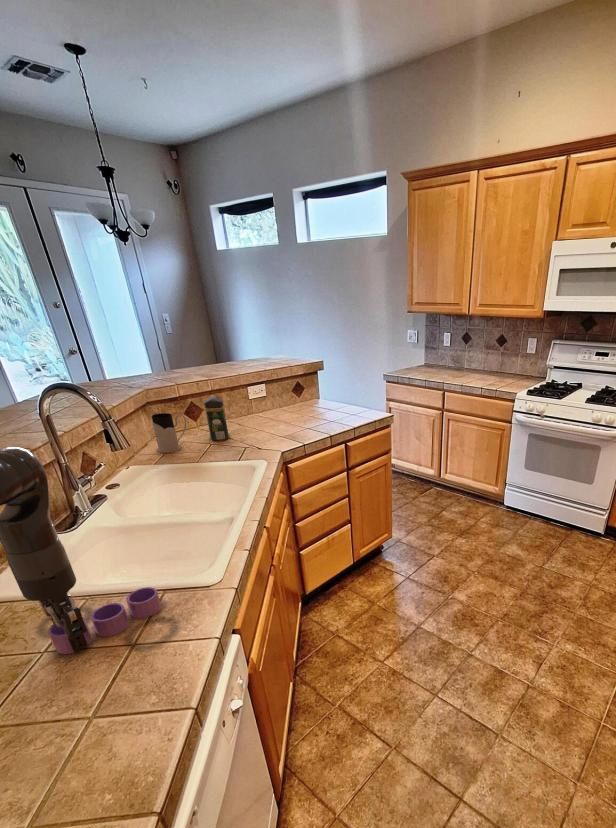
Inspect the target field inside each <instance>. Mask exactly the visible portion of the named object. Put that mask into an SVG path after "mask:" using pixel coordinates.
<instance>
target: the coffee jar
mask: <svg viewBox="0 0 616 828" xmlns="http://www.w3.org/2000/svg"><path fill="white" fill-rule="evenodd" d="M203 405H204V410H205V414H206V415H205V416H206V420H207V425H208V430H209V436H210V440H211V441H217V442H220V441H221V442H222V441H224V440H228V438H229V436H230V435H229V434H230V433H229V429H228V425H227V419H226V418H227V417H226V412H225V411H226V410H225V406H224V400H223V399H222V398H220V397H218V396H212V397H208V398H206V399H205V401H204V402H203Z"/></svg>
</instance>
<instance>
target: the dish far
mask: <svg viewBox="0 0 616 828" xmlns="http://www.w3.org/2000/svg"><path fill="white" fill-rule="evenodd" d="M125 599H126V600H125V601H126V603H127V606H128V609H129V613H130V616H132V617H133V618H134V619H146V618H149V617H152V616H154V615H156V614H157V613H159V611H160V610H161V609H162V603H161V602H162V601H161V599H160V596H159V592H158V589H156V587H151V586H147V587H146V586H145V587H141V588H138V589H135V590H133V591H131V592H130V593H129V594H128V595H127V596H126V598H125Z"/></svg>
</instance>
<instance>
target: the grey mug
mask: <svg viewBox="0 0 616 828" xmlns="http://www.w3.org/2000/svg"><path fill="white" fill-rule="evenodd" d="M150 417H151V421H152V426H153V431H154V435H155V440H156V443H157V447H158V450H157V451H158V452H159V453H174V452H177V451H179V450H180V449H181V446H180V443H179V441H180V440H181V438H182V437H183V435H185V432H186V430H187V419H186V417H185V415H182V414H177V415H176V417H175V419H173V414H172V413H169V412H164V413H155V414H152V415H151V416H150ZM179 417H183V420H184V427H183V431H182V433H181V434H180V436H179V437H178V436H177V430H176V427H177V426H178V418H179ZM174 422H175V423H174Z"/></svg>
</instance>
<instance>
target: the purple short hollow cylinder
mask: <svg viewBox="0 0 616 828" xmlns="http://www.w3.org/2000/svg"><path fill="white" fill-rule="evenodd" d="M82 618H83V621H84V624H85V627H86V629H87V632H86V633H83V634H84V637H85V639H86V642H87V646H88V645H89V644H90V643H91V642H92V640H93V636H92V633H91V631H90V627H89V624H88V623H87V620H86V619H85V618H84V617H83V616H82ZM59 621H63V620H59ZM47 635H48V636H49V639H50V642H51V643H52V646H53V648H54V649H55V651H56V653H58V654H61V655H69V654H74V653H75V652H74V651H73V650H72V647H71V645H70V643H69V640H68V638H67V637H66V636H65V633H64V631H63V629H62V627H58V626H57V625H56V624H55V623H54V624H53V623H52V625H51V626H50V627H49V628H48V630H47Z"/></svg>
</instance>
